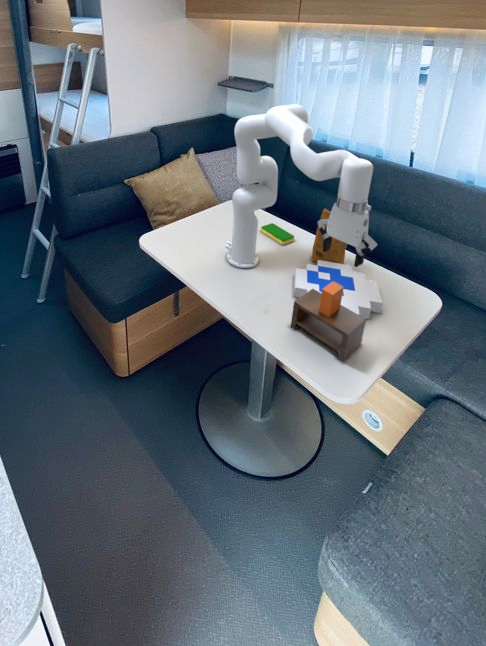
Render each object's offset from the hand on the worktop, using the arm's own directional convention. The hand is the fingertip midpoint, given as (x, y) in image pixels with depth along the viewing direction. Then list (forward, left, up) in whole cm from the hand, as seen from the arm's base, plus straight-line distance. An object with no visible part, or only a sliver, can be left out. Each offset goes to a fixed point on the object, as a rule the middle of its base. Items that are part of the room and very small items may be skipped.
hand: (341, 257), depth 117 cm
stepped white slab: (-9, +20, -28) cm, 36 cm away
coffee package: (-22, +36, -28) cm, 51 cm away
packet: (0, -1, -18) cm, 18 cm away
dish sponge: (-47, +36, -28) cm, 66 cm away
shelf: (0, -1, -28) cm, 28 cm away
